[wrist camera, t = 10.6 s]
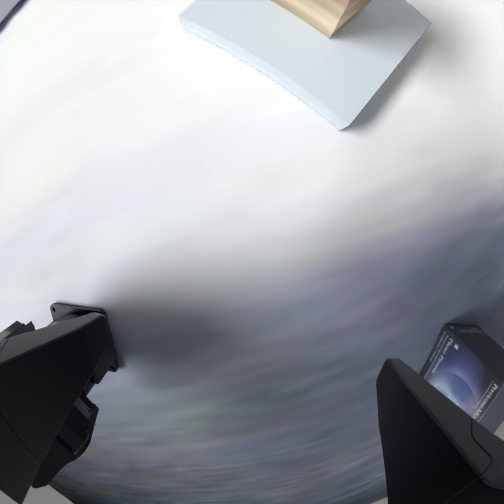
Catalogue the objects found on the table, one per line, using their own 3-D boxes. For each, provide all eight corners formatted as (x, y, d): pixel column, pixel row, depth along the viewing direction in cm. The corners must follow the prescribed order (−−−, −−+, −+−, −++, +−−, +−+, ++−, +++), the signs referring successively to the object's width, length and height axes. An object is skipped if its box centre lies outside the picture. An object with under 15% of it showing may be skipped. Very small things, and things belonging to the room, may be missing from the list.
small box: (441, 321, 21) (506, 382, 11) (477, 324, 22) (535, 373, 12) (398, 404, 24) (435, 472, 14) (437, 399, 24) (475, 456, 14)
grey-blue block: (335, 132, 18) (349, 125, 15) (186, 34, 16) (178, 16, 13) (414, 35, 15) (431, 23, 12) (289, -46, 13) (292, -65, 10)
